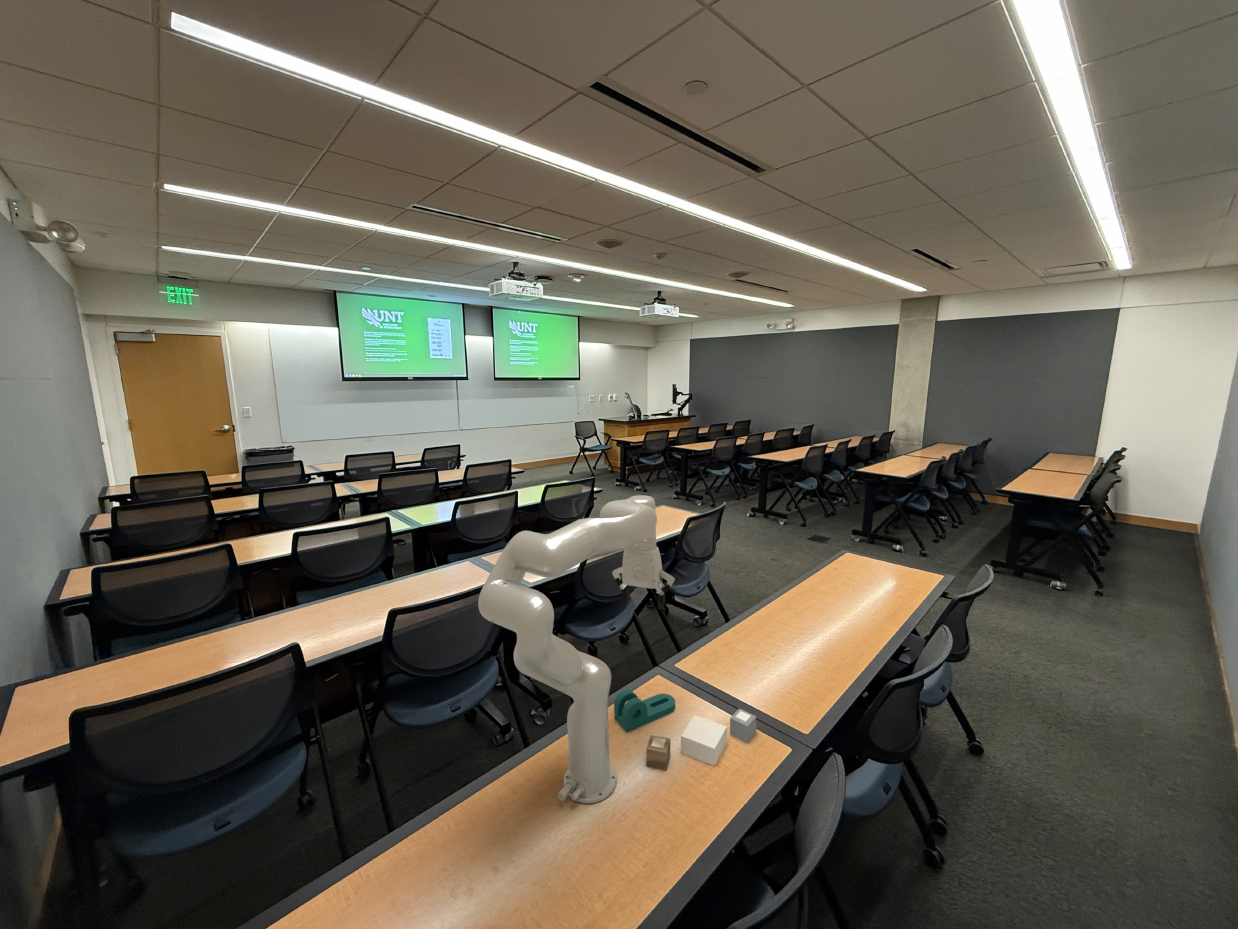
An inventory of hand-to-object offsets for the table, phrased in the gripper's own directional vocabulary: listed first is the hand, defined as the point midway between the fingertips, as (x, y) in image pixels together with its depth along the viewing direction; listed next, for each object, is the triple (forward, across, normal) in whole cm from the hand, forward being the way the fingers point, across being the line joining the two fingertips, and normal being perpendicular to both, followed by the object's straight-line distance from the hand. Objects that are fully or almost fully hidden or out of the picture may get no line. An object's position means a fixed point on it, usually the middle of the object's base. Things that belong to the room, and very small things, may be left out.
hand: (643, 604), depth 128 cm
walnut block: (+35, +8, -12) cm, 38 cm away
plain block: (+36, +17, -3) cm, 40 cm away
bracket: (+36, -1, +4) cm, 36 cm away
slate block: (+36, +26, +5) cm, 44 cm away
